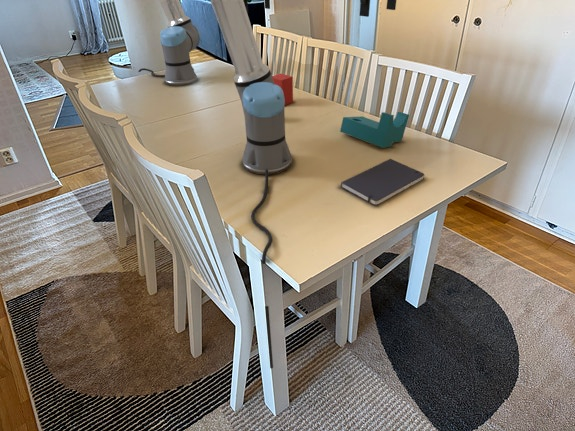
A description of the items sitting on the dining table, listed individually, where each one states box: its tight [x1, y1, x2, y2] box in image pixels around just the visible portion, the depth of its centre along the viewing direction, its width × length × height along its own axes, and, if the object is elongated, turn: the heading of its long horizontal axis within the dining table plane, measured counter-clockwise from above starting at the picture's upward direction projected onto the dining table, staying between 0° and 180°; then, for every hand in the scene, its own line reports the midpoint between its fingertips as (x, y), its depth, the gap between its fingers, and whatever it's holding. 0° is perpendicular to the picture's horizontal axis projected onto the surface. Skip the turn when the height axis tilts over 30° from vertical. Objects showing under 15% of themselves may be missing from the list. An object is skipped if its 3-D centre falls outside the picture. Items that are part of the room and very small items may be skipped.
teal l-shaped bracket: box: [339, 111, 410, 149], centre depth 136 cm, size 18×11×10 cm, turn 43°
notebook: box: [340, 158, 425, 206], centre depth 114 cm, size 13×2×21 cm
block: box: [272, 73, 294, 107], centre depth 166 cm, size 7×6×11 cm
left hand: (256, 10), depth 184 cm, fingers open, 13 cm apart
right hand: (377, 12), depth 119 cm, fingers open, 13 cm apart
